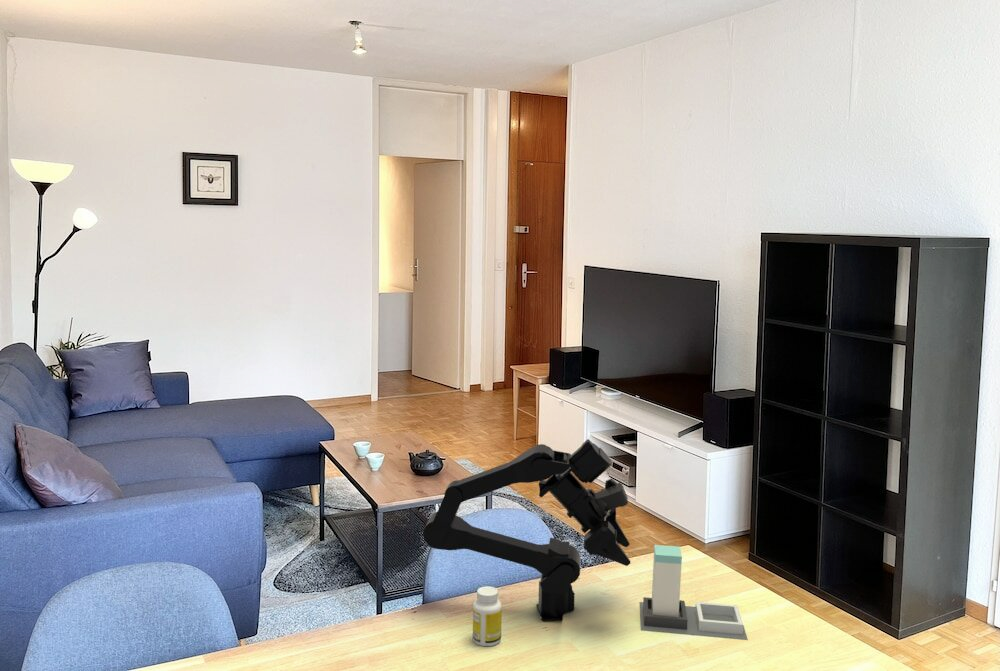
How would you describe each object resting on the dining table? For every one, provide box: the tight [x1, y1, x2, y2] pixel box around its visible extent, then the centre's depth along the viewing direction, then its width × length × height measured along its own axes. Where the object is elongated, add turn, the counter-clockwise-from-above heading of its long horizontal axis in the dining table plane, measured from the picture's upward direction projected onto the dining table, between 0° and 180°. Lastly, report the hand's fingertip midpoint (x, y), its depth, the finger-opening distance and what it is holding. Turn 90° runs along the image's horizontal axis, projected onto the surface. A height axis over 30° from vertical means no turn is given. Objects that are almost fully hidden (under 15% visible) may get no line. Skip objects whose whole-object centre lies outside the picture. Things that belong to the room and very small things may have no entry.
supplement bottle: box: [472, 586, 503, 647], centre depth 155 cm, size 5×5×10 cm
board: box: [639, 596, 749, 641], centre depth 163 cm, size 20×12×3 cm, turn 82°
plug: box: [651, 544, 683, 617], centre depth 163 cm, size 5×5×14 cm
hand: (628, 554), depth 163 cm, fingers open, 9 cm apart
